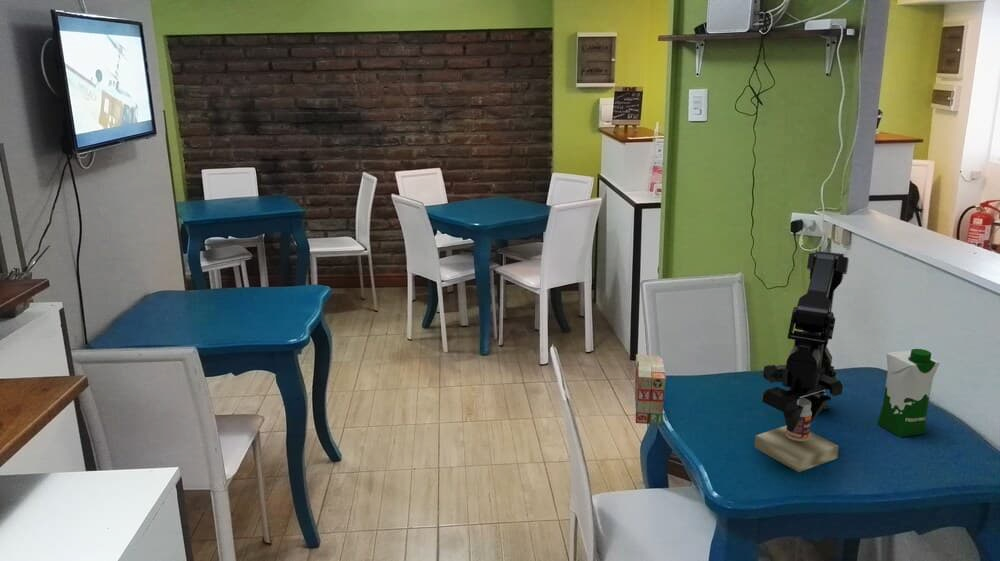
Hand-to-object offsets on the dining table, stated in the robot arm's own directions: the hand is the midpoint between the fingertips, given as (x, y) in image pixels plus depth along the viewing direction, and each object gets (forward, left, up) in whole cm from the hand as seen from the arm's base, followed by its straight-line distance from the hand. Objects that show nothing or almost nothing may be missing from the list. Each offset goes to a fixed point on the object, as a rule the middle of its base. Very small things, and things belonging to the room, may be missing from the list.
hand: (798, 428), depth 163 cm
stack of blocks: (+13, -34, -6) cm, 37 cm away
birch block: (0, 0, -6) cm, 6 cm away
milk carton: (-31, +4, -6) cm, 32 cm away
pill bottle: (0, 0, -2) cm, 2 cm away
